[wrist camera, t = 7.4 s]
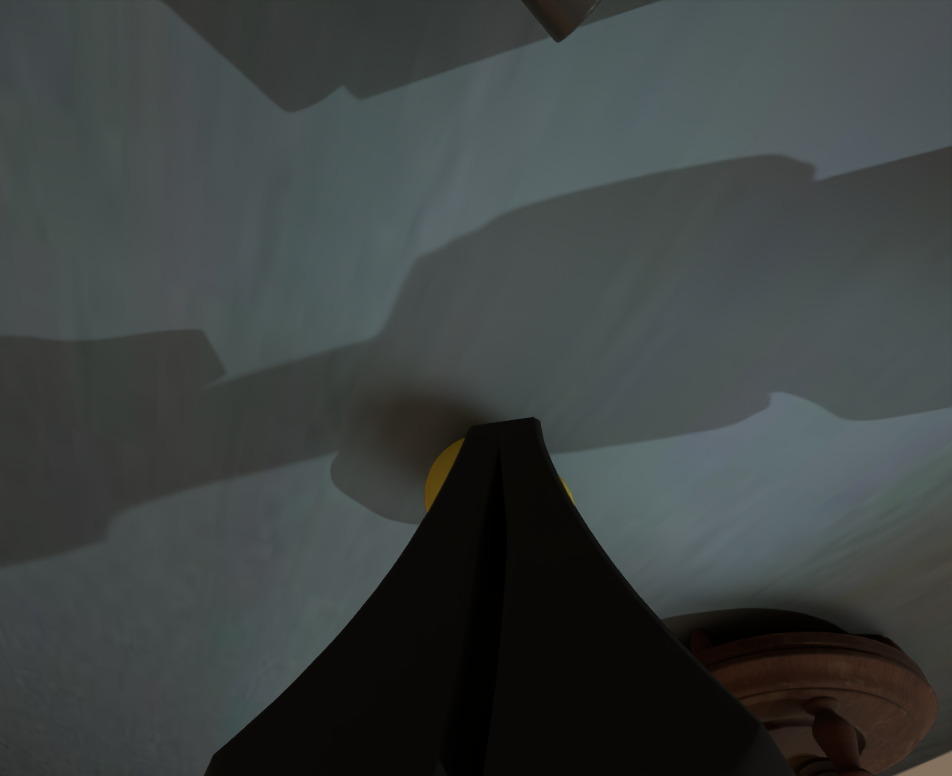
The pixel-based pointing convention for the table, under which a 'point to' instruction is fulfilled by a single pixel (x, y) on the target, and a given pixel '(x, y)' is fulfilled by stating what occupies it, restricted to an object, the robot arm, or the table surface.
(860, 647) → the wooden rope wheel ornament
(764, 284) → the table surface
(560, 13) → the drawer
